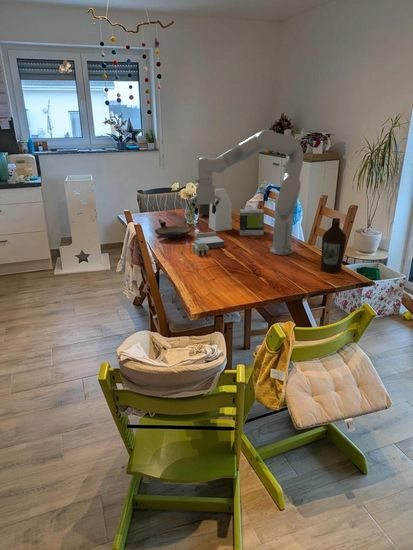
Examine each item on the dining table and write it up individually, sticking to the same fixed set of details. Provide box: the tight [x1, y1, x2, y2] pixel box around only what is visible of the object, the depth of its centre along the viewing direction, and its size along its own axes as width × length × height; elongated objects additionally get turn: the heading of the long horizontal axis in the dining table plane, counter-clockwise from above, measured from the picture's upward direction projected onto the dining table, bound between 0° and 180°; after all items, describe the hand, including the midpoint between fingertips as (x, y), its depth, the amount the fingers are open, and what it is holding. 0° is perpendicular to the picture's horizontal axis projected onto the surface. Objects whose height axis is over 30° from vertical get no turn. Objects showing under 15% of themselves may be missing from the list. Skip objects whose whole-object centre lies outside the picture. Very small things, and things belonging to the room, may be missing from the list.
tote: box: [194, 239, 206, 248], centre depth 213 cm, size 6×4×2 cm
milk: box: [208, 188, 233, 232], centre depth 257 cm, size 12×12×26 cm
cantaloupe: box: [198, 204, 210, 217], centre depth 293 cm, size 14×14×15 cm
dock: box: [196, 231, 225, 249], centre depth 228 cm, size 14×12×5 cm
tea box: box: [239, 208, 265, 236], centre depth 246 cm, size 15×10×15 cm
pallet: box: [191, 242, 210, 256], centre depth 215 cm, size 10×6×4 cm, turn 19°
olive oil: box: [320, 217, 347, 274], centre depth 184 cm, size 11×11×25 cm
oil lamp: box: [154, 218, 192, 239], centre depth 245 cm, size 22×30×8 cm
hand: (205, 213), depth 212 cm, fingers open, 9 cm apart
